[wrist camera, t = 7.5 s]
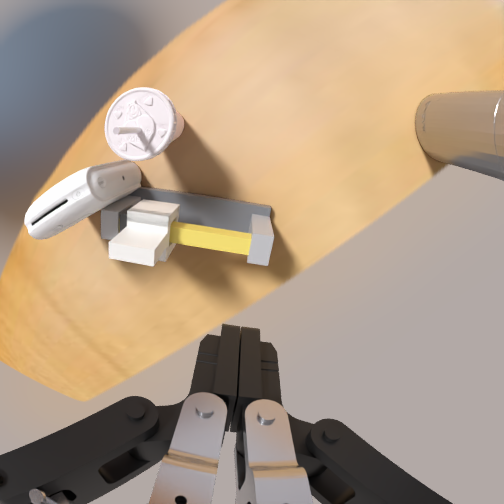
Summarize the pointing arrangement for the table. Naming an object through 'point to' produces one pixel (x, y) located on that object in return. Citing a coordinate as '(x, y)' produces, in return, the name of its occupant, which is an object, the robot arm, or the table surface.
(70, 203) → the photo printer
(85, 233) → the table surface
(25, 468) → the robot arm
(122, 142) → the smoothie
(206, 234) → the slider rail
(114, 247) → the white stepped block
